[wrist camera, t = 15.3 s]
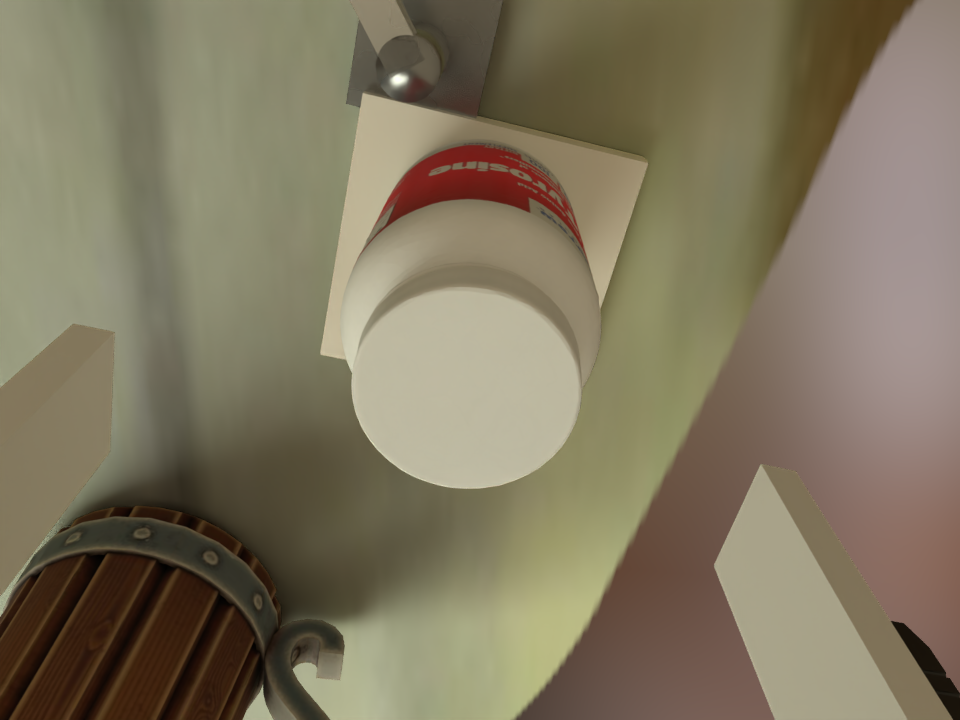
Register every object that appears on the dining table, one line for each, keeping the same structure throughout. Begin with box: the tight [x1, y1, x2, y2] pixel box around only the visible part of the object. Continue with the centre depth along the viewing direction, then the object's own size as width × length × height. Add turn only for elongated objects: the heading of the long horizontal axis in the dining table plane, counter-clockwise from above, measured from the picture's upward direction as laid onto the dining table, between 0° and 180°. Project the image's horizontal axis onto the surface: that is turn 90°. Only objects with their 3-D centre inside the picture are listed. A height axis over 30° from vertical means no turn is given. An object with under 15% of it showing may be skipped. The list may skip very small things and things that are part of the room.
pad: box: [320, 91, 648, 360], centre depth 27 cm, size 9×9×1 cm
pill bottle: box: [340, 139, 601, 489], centre depth 21 cm, size 6×6×11 cm
